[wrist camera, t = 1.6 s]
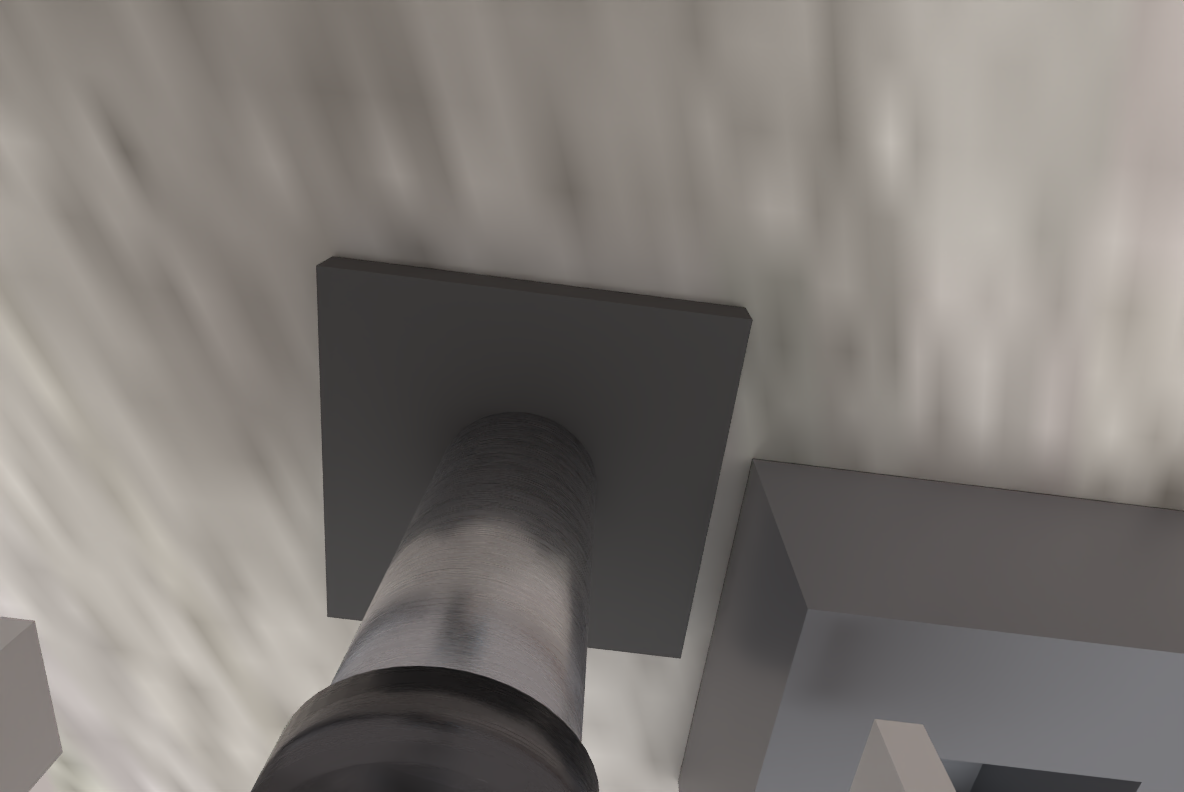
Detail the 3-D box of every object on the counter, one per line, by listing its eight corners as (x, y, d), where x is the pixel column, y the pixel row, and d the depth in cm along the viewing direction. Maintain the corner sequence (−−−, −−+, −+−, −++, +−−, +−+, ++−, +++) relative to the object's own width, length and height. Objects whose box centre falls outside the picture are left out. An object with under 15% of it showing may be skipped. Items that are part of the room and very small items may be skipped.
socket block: (752, 458, 19) (812, 619, 13) (1495, 549, 19) (1877, 746, 13) (678, 781, 23) (697, 1006, 18) (1276, 851, 24) (1490, 1095, 18)
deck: (332, 256, 17) (316, 265, 16) (745, 307, 17) (752, 319, 16) (340, 594, 21) (327, 616, 20) (678, 634, 21) (680, 657, 20)
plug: (430, 389, 17) (217, 720, 8) (620, 412, 17) (620, 768, 8) (425, 547, 19) (244, 967, 10) (597, 568, 19) (576, 1004, 10)
